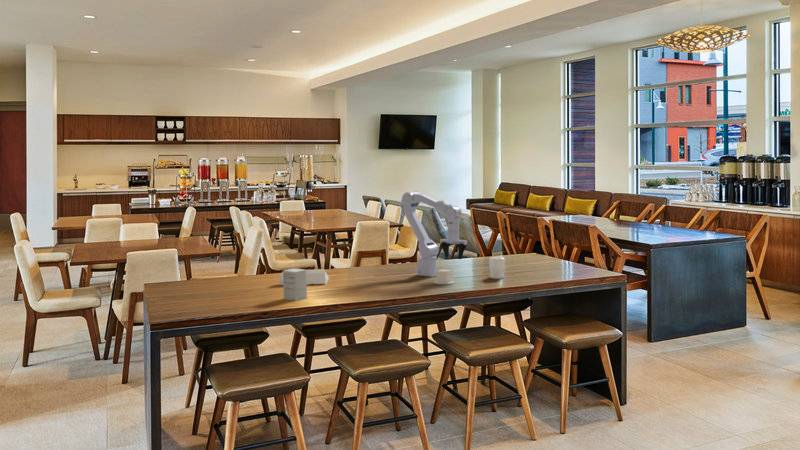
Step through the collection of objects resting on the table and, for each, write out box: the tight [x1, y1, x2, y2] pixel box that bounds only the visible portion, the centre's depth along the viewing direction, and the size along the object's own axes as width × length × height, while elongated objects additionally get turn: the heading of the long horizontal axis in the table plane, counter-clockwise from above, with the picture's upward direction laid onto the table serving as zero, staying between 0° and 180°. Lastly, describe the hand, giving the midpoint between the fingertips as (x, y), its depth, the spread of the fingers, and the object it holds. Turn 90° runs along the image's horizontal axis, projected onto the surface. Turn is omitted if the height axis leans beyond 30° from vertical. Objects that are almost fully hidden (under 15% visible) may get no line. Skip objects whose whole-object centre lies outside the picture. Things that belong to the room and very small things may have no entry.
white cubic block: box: [435, 269, 453, 283], centre depth 348 cm, size 6×6×6 cm
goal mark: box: [433, 280, 455, 285], centre depth 348 cm, size 10×10×1 cm
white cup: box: [488, 256, 506, 280], centre depth 359 cm, size 8×8×10 cm
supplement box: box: [282, 267, 308, 302], centre depth 312 cm, size 7×7×13 cm
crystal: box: [278, 268, 330, 286], centre depth 347 cm, size 7×7×24 cm
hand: (453, 258), depth 359 cm, fingers open, 7 cm apart
